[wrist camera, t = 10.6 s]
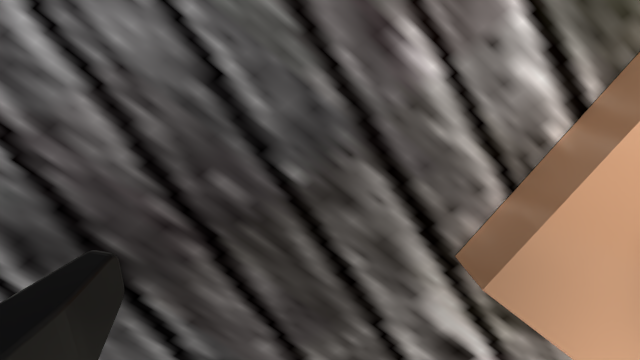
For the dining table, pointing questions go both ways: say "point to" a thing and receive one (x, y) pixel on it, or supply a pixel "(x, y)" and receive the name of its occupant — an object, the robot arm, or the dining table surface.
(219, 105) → the dining table surface
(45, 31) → the dining table surface
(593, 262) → the terracotta plinth
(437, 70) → the dining table surface
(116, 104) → the dining table surface
